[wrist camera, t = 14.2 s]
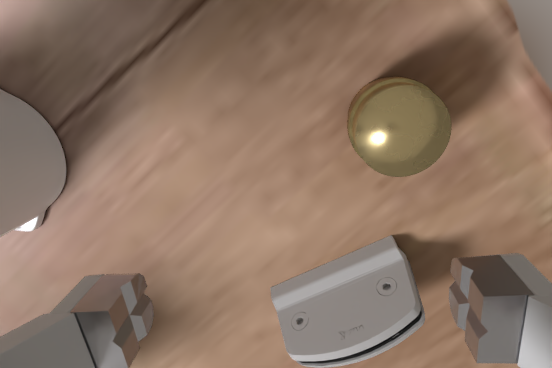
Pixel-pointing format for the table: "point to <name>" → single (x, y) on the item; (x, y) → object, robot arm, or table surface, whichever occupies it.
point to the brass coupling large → (398, 126)
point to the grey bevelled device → (349, 307)
